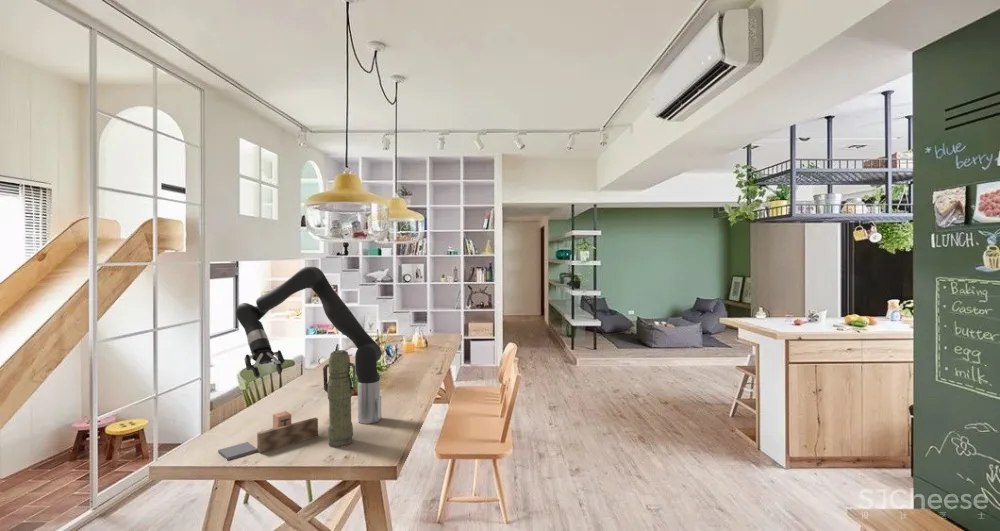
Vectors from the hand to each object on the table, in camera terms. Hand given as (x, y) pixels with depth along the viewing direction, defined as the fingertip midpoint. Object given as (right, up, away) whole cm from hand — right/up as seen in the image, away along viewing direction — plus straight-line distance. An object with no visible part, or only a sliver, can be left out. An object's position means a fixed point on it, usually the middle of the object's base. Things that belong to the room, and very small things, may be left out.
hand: (269, 374), depth 192 cm
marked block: (+9, -24, -8) cm, 26 cm away
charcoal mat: (-2, -24, -19) cm, 31 cm away
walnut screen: (+13, -24, -12) cm, 29 cm away
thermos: (+33, -24, -12) cm, 42 cm away
